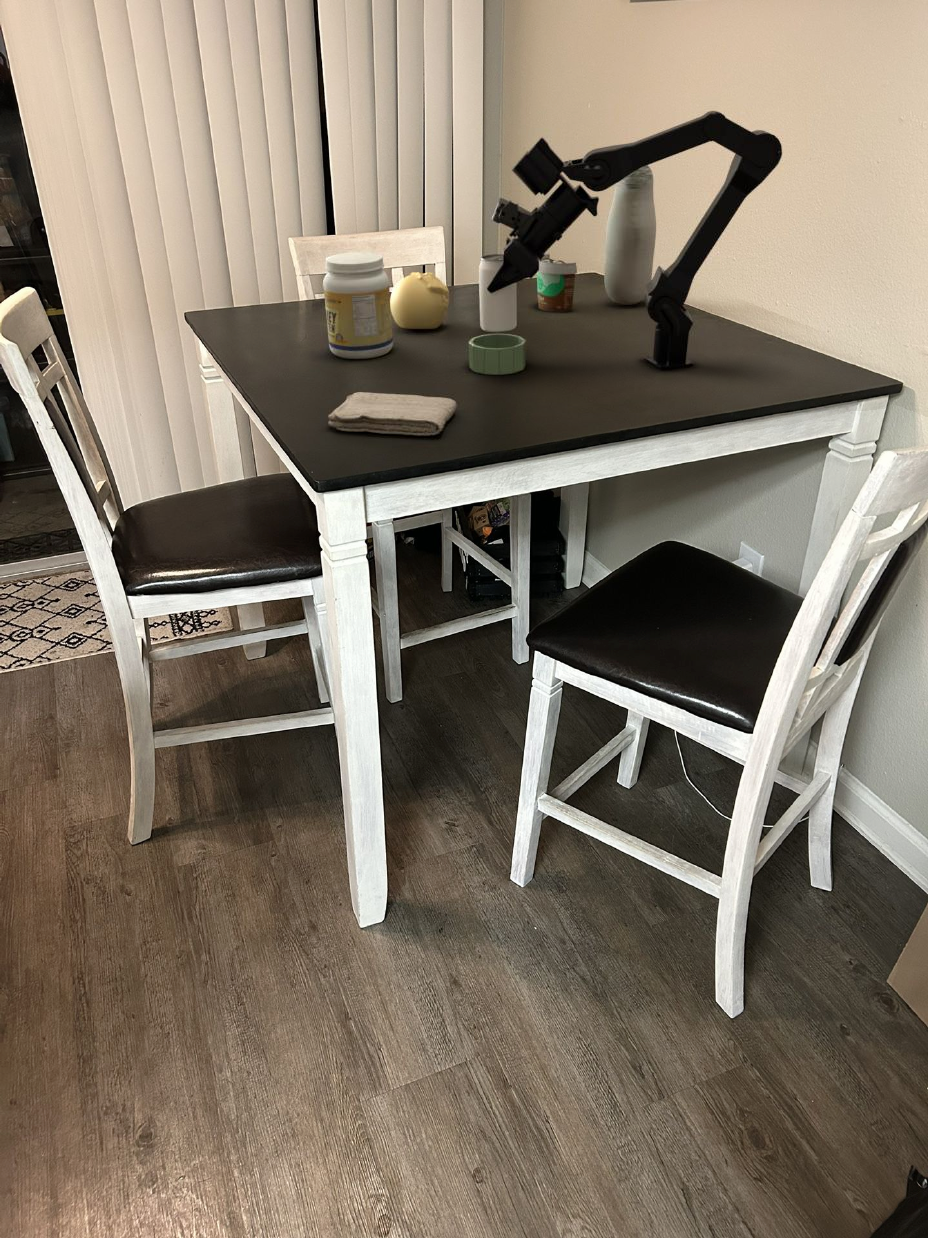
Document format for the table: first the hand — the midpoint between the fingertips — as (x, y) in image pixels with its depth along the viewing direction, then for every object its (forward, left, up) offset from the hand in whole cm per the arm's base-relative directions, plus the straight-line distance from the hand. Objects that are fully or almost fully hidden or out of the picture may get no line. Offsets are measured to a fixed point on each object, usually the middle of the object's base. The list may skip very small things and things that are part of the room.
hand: (490, 286), depth 159 cm
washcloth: (-24, +24, -13) cm, 36 cm away
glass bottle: (+31, -41, -13) cm, 53 cm away
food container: (+34, -24, -13) cm, 44 cm away
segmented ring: (-3, 0, -13) cm, 13 cm away
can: (-1, -1, -7) cm, 7 cm away
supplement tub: (+16, +21, -13) cm, 29 cm away
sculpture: (+29, +6, -13) cm, 32 cm away
